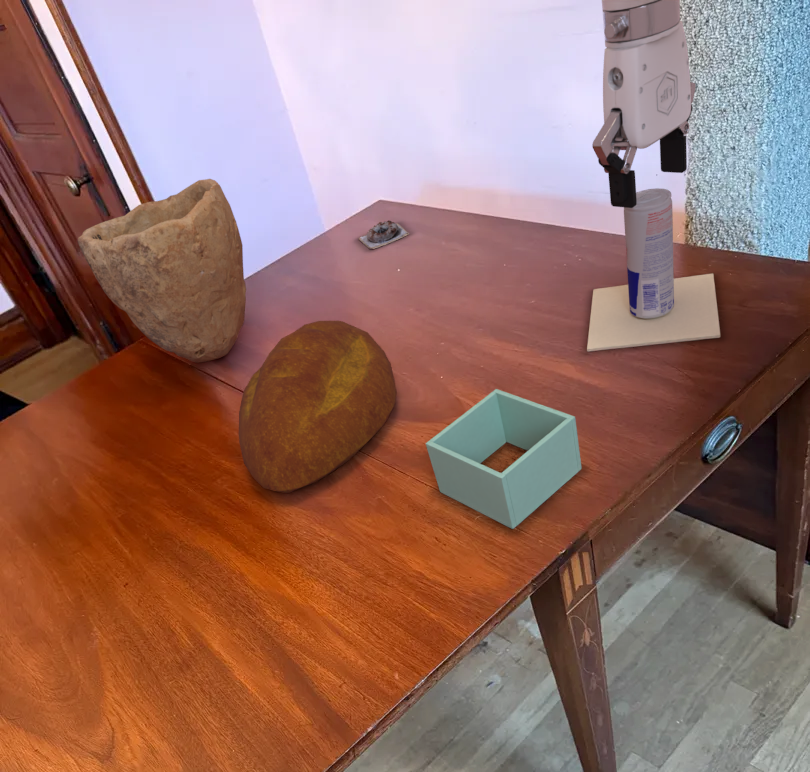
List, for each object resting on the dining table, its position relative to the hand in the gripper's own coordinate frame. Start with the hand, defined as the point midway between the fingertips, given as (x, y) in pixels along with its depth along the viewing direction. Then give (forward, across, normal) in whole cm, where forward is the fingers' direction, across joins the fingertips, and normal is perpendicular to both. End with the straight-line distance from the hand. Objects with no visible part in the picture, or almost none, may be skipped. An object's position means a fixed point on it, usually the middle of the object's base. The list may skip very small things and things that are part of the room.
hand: (649, 188), depth 88 cm
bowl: (+16, -37, +59) cm, 71 cm away
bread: (+16, -39, +24) cm, 49 cm away
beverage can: (+16, 0, +1) cm, 16 cm away
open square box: (+17, -35, -6) cm, 40 cm away
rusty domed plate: (+15, +6, +64) cm, 66 cm away
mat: (+16, 0, +1) cm, 17 cm away
